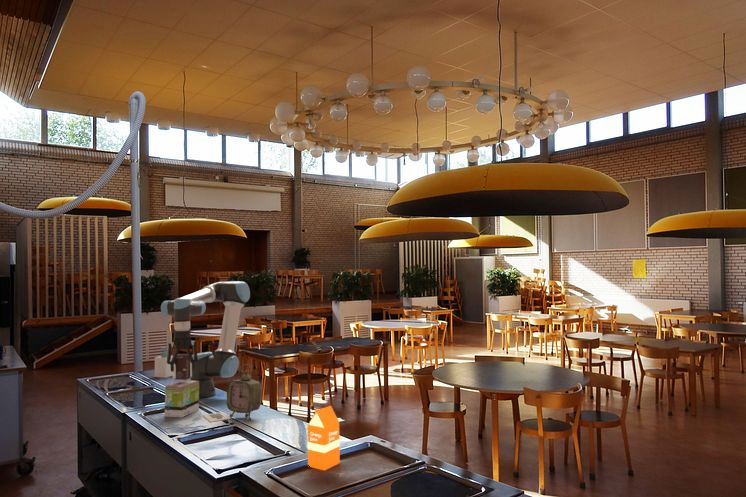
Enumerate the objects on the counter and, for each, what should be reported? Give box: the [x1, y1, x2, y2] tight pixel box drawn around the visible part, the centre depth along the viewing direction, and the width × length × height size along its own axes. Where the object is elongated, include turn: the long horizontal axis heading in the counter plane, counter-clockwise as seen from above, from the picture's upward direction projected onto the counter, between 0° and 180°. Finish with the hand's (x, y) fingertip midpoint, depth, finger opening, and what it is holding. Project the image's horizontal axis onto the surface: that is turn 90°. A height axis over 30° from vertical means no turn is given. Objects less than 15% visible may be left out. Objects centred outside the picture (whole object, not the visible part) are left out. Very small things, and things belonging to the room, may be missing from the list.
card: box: [202, 411, 232, 423], centre depth 260 cm, size 10×13×1 cm
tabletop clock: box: [226, 363, 263, 422], centre depth 258 cm, size 14×9×25 cm, turn 64°
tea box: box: [164, 379, 200, 418], centre depth 268 cm, size 15×10×15 cm, turn 168°
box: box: [174, 353, 190, 381], centre depth 268 cm, size 6×4×12 cm
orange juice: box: [307, 405, 341, 471], centre depth 197 cm, size 8×9×20 cm
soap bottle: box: [154, 346, 173, 379], centre depth 359 cm, size 9×9×19 cm
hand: (182, 377), depth 268 cm, fingers closed on box, 7 cm apart
